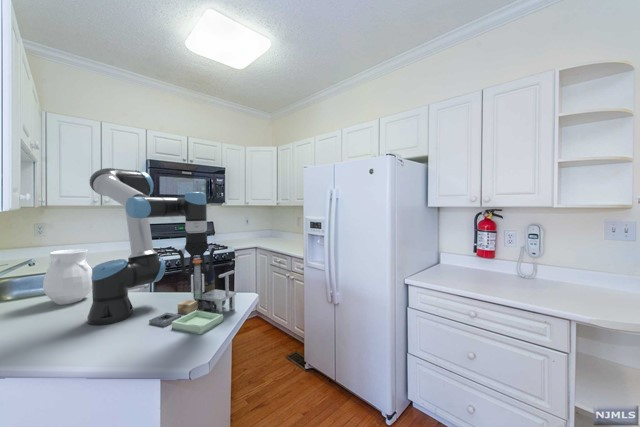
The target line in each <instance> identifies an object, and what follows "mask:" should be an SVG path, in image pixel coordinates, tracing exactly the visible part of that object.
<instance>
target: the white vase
mask: <svg viewBox="0 0 640 427" xmlns="http://www.w3.org/2000/svg"><path fill="white" fill-rule="evenodd" d="M88 251H89V250H88V249H86V248H71V249H59V250H55V251H51V252H50V253H49V256H50V258H51V259H50V260H49V264H48V265H49V266H48V268H47V269H46V271H45V274H44V277H43V282H42V286H43V288H42V289H43V292H44V294H45V295H46V296H47V297H48V298H49V299H50V301H52V302H54V304H56V305H60V306H61V305H62V306H64V305H68V304H69V305H70V304H71V305H72V304H75V303H79V302H80V301H82V300H83V299H85V298H86V297H87V296H89V294H90V293H91V291H92V279H91V277H92V269H93V268H92V267H91V266H90V265H89V264H88V261H87V254H88Z"/></svg>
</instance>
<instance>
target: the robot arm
mask: <svg viewBox="0 0 640 427" xmlns="http://www.w3.org/2000/svg"><path fill="white" fill-rule="evenodd" d="M89 186H90V189H91V190H92V191H93V192H95V193H96V194H98V195H100V196H103V197H108V198H109V199H112V200H113V201H115V203H118V204H120V205H122V206H123V207H124V211H125V217H126V223H127V224H126V225H127V231H128V238H129V239H128V240H129V246H130V255H128V257H127V259H123V258H120V259H113V260H108V261H104V262H101V263H98V264H97V265H95V266H94V267H93V268H92V277H91V279H92V290H91V291H92V304H91V307H90V308H89V312H88V315H87V324H88V325H92V326H102V325H110V324H114V323H117V322H118V323H119V322H121V321H123V320H126V319H128V318H129V317H131V316H132V315H134V307H133V304H132V302H131V300H130V298H129V297H130V296H129V289H133V288H137V287H141V286H145V285H151V284H153V283H156V282H159V281H160V280H161V279H162V278H163V276H164V274H165V272H166V263H165V262H166V261H165V260H164V258H163V257H162V256H159V254H158V252H157V250H156V251H155V250H154V244H153V239H152V231H151V230H152V229H151V225H150V218H173V217H176V218H177V217H185V222H184V223H185V232H186V233H185V245H184V247H183V248H180V249H178V250H177V253H178V256H179V258H180V266H181V275H182V276H186V277H187V284H188V286H189V285H190V292H191V294H192V295H193V293H194V290H193V274H192V273H193V263H192V260H193V259H195V258H194V257H197V256H198V257H199V258H201V259H202V260H203V262H202V267H203V272H204V274H202V292H204V283H206V282H207V274H208V273H211V272H212V266H214V264H213V263H214V262H213V261H214V254H215V250H216V248H215V246H211V245H209V243H208V232H207V230H208V221H207V216H208V215H207V214H208V213H207V211H208V210H207V208H208V207H207V203H208V202H207V194H206V193H205V192H203V191H201V192H200V191H187V192H185V193H184V197H157V196H156V197H154V196H151V195H152V194H153V192H154V181H153V179H152V177H151V175H150V174H149V173H148V172H145V171H141V170H140V171H139V170H136V169H135V170H133V169H132V170H131V169H124V168H123V169H121V168H113V167H110V168H107V167H106V168H102V169H99V170H97V171H94V173H92V174H91V176H90V178H89ZM207 250H208V252H209V259H208V260H209V261H208V265H209V269H208V270H207V269H206V264H207V263H206V261H205V260H206V259H205V253H206V252H207ZM186 252H187V253H188V254H189V263H188V268H186V263H185V262H186V260H185V254H186ZM186 269H188V270H186Z"/></svg>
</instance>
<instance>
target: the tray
mask: <svg viewBox="0 0 640 427" xmlns="http://www.w3.org/2000/svg"><path fill="white" fill-rule="evenodd" d="M222 322H224V314H223V313H222V314H217V312H211V313H210V312H204V311H198V309H197V310H196V311H194V312H191V313H189V314H185V315H183V316H181V318H179V319H177V320H175V321H173V322H172V323H171V329H172V330H176V331H181V332H184V333H192V334H194V335H200V336H201V335H202V334H204V333H206V332H209V330H211V329H212V328H214V327H216V326H217V325H219V324H221V323H222Z"/></svg>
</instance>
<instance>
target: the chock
mask: <svg viewBox="0 0 640 427" xmlns="http://www.w3.org/2000/svg"><path fill="white" fill-rule="evenodd" d="M195 310H198V302H197V301H195V300H187V299H185V300H184V301H182V302H181V301H180V302H179V303H177V313H178V314H185V313H191V312H194V311H195Z"/></svg>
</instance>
